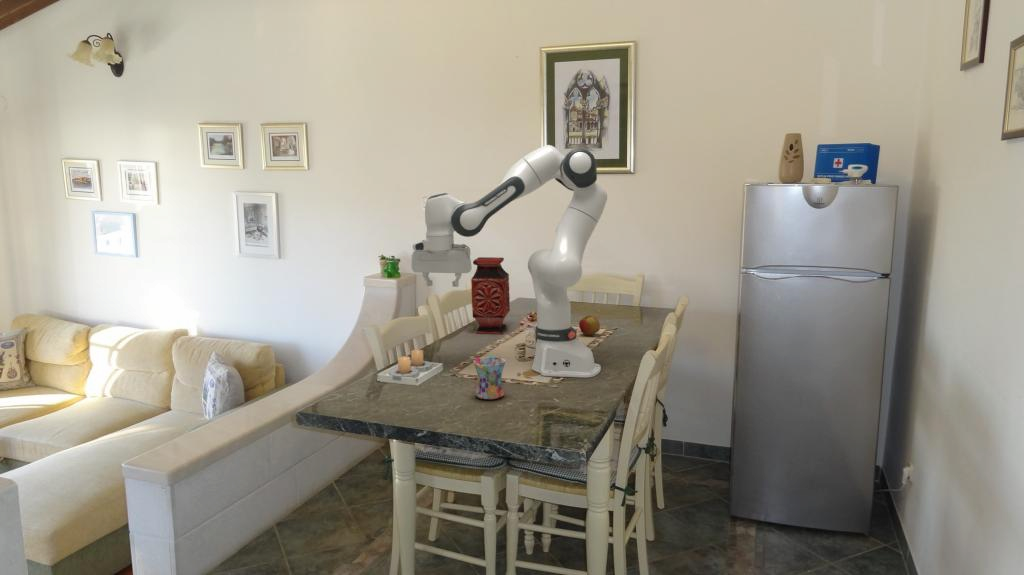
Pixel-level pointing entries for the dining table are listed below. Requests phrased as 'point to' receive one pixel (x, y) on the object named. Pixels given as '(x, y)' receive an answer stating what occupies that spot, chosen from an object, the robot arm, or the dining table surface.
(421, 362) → the white candle tray
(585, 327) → the apple
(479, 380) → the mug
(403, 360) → the orange pillar candle
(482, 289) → the vase
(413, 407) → the dining table surface
